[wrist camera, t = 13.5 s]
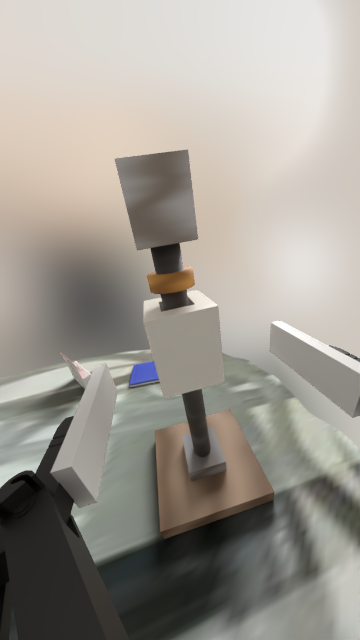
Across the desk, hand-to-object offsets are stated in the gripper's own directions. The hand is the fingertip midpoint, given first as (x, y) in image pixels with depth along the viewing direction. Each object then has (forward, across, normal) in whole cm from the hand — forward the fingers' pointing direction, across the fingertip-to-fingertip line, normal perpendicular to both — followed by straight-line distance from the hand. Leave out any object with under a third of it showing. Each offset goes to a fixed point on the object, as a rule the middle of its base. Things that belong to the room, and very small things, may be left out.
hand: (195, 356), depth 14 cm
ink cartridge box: (+31, -26, -23) cm, 47 cm away
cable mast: (+4, 0, -23) cm, 23 cm away
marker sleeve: (+4, 0, -5) cm, 6 cm away
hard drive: (+29, -7, -24) cm, 38 cm away
